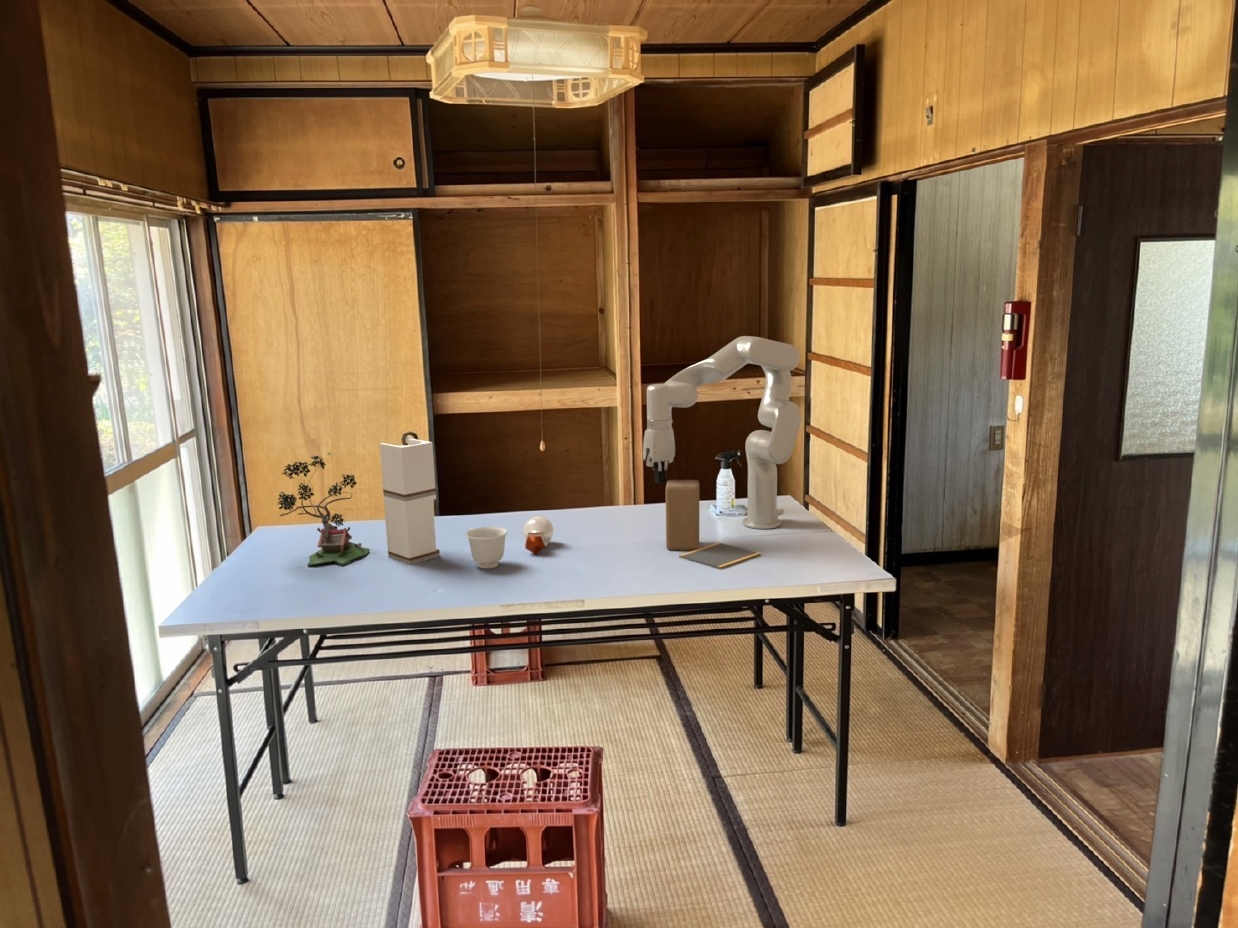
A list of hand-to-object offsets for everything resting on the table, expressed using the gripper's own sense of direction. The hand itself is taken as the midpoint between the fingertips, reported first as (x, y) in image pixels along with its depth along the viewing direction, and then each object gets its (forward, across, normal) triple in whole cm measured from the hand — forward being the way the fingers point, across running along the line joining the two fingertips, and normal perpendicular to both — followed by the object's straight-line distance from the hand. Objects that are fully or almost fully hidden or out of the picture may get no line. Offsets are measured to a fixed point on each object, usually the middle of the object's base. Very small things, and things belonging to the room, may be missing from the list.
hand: (660, 482), depth 270 cm
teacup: (+19, +53, -19) cm, 59 cm away
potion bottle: (+19, +32, -21) cm, 43 cm away
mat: (+18, 0, +25) cm, 31 cm away
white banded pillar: (+19, +64, -41) cm, 78 cm away
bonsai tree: (+19, +87, -57) cm, 105 cm away
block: (+19, 0, +10) cm, 21 cm away
